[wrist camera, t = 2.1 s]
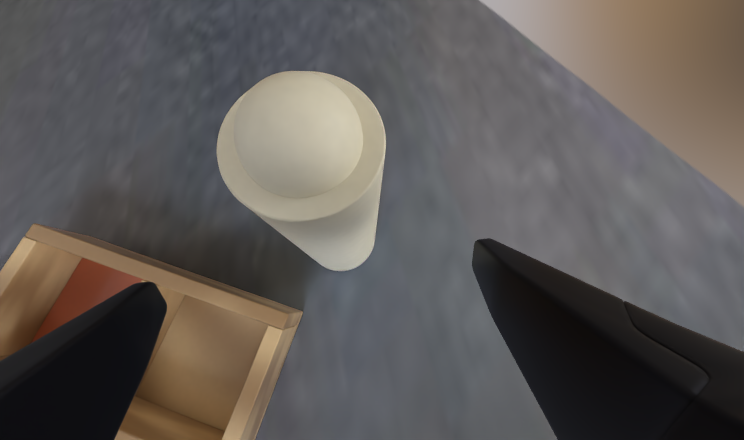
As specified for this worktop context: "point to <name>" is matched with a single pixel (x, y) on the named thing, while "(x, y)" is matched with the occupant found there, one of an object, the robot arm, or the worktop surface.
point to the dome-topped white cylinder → (308, 163)
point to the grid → (176, 338)
